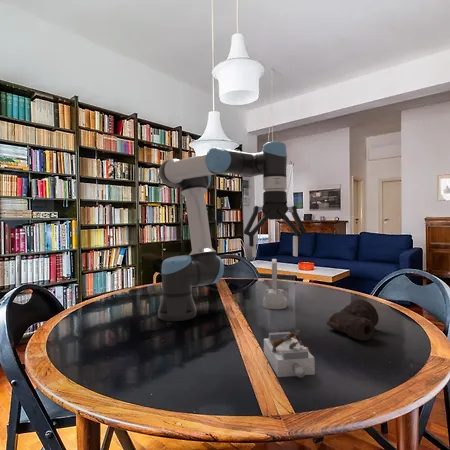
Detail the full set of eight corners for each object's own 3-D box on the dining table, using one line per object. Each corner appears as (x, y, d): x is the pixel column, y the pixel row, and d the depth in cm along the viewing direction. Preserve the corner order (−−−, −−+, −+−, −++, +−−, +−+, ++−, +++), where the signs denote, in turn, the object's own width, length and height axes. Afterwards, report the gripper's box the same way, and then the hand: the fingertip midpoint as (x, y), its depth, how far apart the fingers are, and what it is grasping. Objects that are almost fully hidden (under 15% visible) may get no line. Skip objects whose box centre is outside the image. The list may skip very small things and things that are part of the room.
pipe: (356, 319, 93) (387, 303, 100) (319, 310, 106) (348, 296, 113) (362, 350, 93) (393, 332, 100) (324, 338, 106) (354, 323, 113)
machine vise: (281, 383, 71) (281, 359, 71) (263, 352, 88) (263, 333, 88) (324, 380, 72) (323, 356, 72) (298, 350, 89) (298, 331, 89)
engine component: (262, 308, 133) (286, 309, 131) (261, 260, 133) (285, 260, 131) (264, 302, 143) (286, 303, 141) (263, 257, 143) (286, 257, 141)
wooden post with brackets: (306, 344, 80) (299, 328, 80) (279, 359, 79) (272, 343, 79) (304, 341, 82) (297, 326, 82) (277, 356, 81) (270, 340, 81)
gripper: (238, 189, 97) (238, 258, 97) (316, 190, 99) (316, 257, 99) (235, 191, 104) (235, 255, 105) (308, 192, 106) (308, 254, 107)
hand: (274, 256), depth 102 cm, fingers open, 13 cm apart
